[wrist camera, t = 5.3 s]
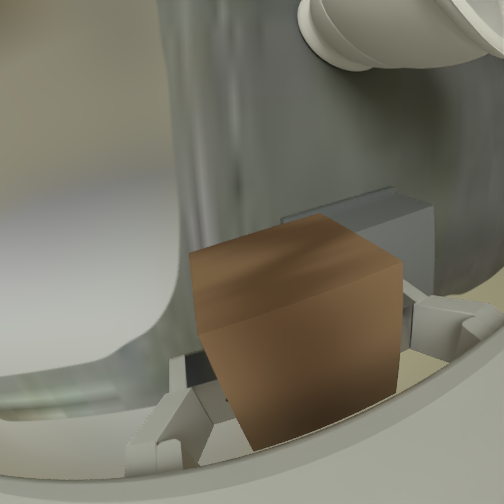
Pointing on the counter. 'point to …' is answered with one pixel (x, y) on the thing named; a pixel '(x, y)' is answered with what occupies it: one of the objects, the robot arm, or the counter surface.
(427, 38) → the jar
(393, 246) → the pedestal
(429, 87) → the counter surface
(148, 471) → the robot arm
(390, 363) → the cube
